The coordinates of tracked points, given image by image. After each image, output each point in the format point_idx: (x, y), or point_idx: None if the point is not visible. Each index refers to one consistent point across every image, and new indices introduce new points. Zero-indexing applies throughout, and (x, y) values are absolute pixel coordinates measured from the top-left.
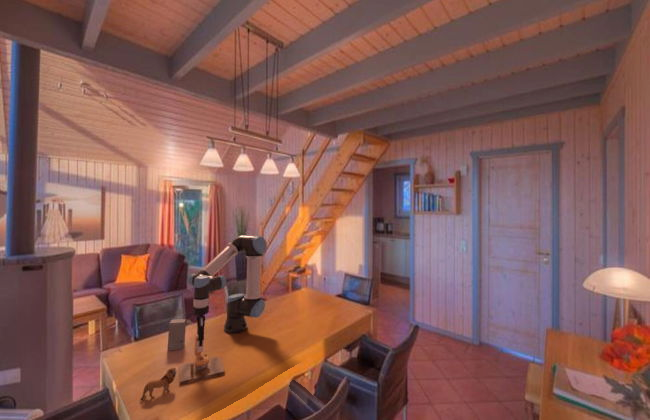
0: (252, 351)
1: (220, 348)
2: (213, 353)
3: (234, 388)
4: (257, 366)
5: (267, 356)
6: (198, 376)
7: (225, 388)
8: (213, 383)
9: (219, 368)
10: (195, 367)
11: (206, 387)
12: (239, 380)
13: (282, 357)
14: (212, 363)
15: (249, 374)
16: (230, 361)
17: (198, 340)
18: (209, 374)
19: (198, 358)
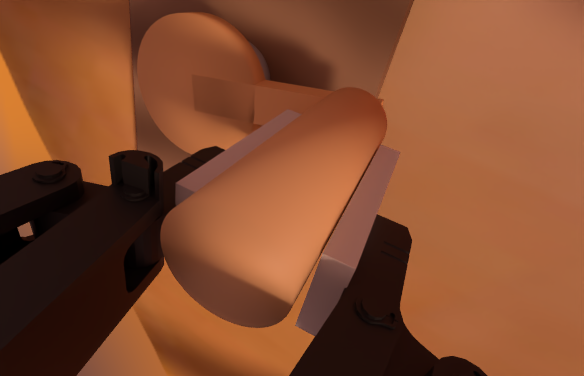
0: (287, 368)
1: (486, 339)
2: (452, 267)
3: (41, 127)
4: (155, 283)
5: (208, 353)
6: (139, 8)
7: (47, 98)
8: (95, 71)
9: (175, 163)
10: (273, 38)
11: (71, 20)
12: (86, 175)
13: (175, 364)
14: None
15: None
16: None
17: (180, 188)
18: (138, 84)
19: (236, 80)
